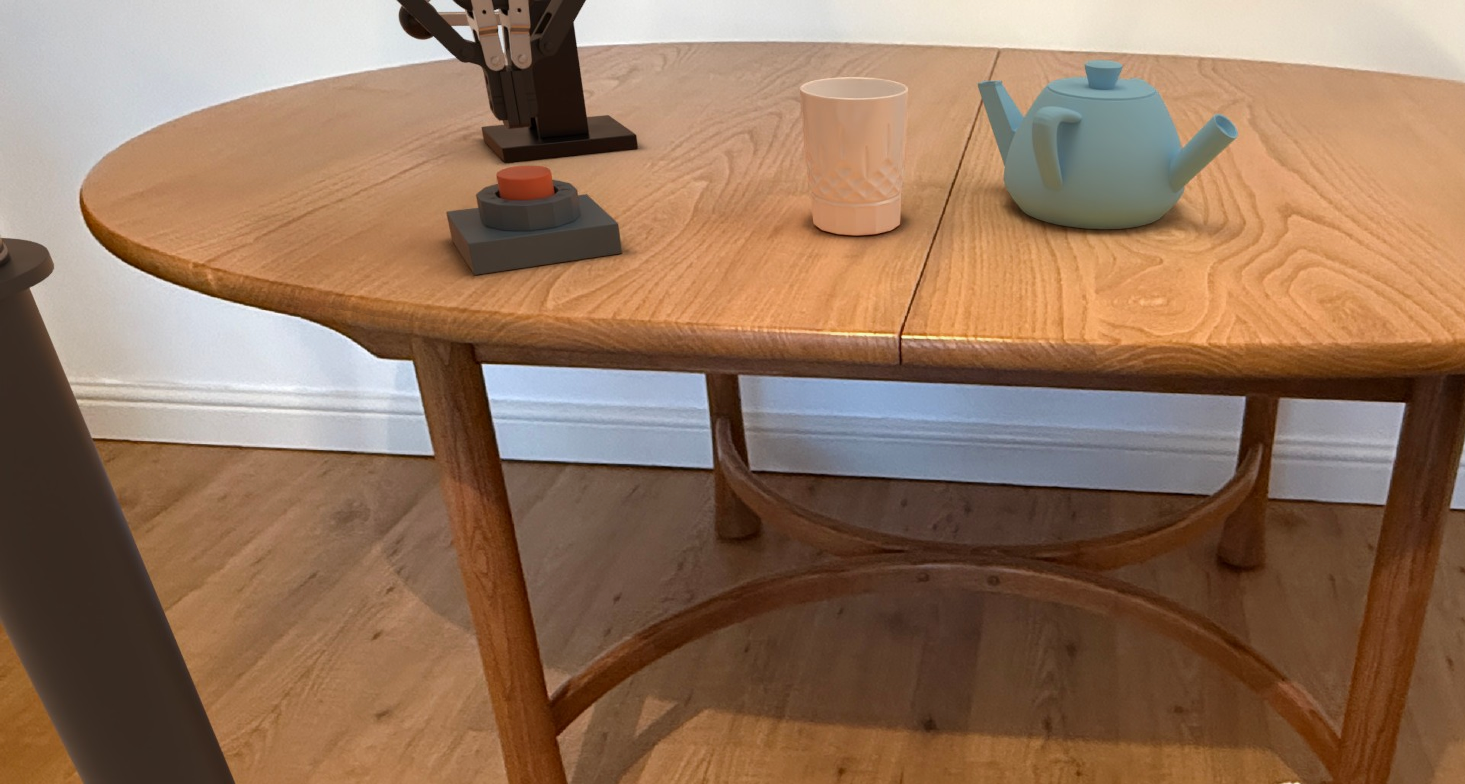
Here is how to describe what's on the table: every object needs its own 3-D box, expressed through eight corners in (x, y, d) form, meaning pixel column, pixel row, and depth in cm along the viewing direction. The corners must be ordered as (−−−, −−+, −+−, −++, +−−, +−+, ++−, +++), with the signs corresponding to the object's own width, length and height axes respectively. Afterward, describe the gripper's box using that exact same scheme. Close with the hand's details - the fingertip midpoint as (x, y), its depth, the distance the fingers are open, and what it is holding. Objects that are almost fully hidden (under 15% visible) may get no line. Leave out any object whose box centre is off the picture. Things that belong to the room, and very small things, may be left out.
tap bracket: (504, 163, 101) (476, 5, 94) (483, 140, 107) (455, -8, 101) (638, 148, 106) (620, -1, 99) (610, 128, 113) (592, -14, 106)
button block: (474, 275, 76) (462, 216, 74) (452, 241, 82) (440, 185, 80) (622, 253, 81) (615, 197, 79) (591, 222, 86) (583, 169, 84)
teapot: (1042, 248, 84) (1053, 88, 78) (971, 186, 98) (975, 46, 92) (1229, 234, 88) (1253, 81, 82) (1135, 176, 102) (1149, 42, 96)
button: (507, 207, 77) (502, 181, 76) (495, 193, 80) (491, 168, 79) (560, 200, 79) (556, 175, 78) (547, 187, 82) (543, 162, 81)
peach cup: (835, 203, 92) (831, 73, 87) (924, 216, 90) (925, 83, 85) (786, 229, 86) (779, 91, 81) (881, 244, 84) (879, 102, 78)
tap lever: (405, 42, 95) (398, 1, 94) (399, 37, 97) (392, -4, 96) (563, 39, 101) (559, 0, 100) (554, 34, 103) (550, -5, 102)
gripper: (560, -172, 74) (599, 106, 83) (336, -176, 68) (403, 124, 77) (593, -170, 68) (630, 127, 77) (351, -174, 62) (422, 149, 71)
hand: (516, 125), depth 77 cm, fingers closed
